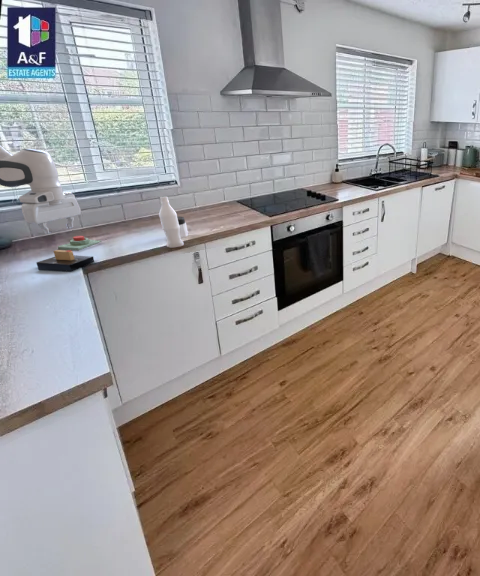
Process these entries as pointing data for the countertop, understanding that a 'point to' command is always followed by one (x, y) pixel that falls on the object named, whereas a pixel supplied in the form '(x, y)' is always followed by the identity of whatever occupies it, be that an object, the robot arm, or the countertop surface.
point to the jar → (182, 227)
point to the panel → (65, 264)
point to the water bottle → (170, 224)
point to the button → (78, 238)
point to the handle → (64, 255)
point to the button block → (78, 244)
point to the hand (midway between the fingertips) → (59, 230)
